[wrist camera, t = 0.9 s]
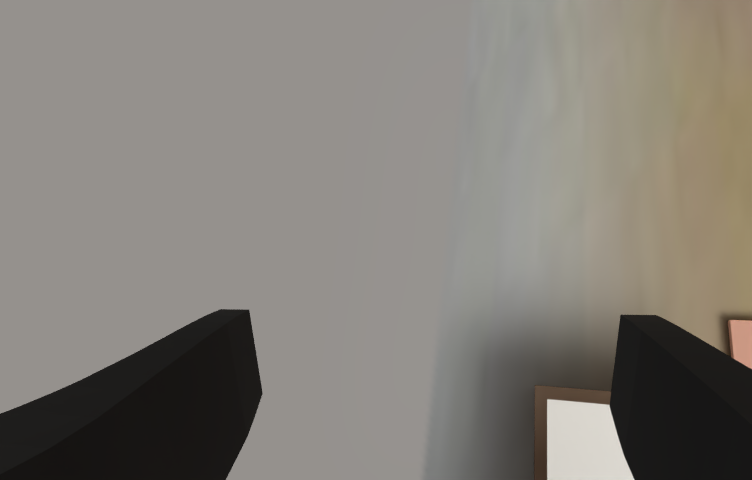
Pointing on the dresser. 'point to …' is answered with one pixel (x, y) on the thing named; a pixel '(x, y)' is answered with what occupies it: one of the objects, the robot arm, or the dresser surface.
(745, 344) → the terracotta mat
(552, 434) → the cream tile
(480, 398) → the dresser surface
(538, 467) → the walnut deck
